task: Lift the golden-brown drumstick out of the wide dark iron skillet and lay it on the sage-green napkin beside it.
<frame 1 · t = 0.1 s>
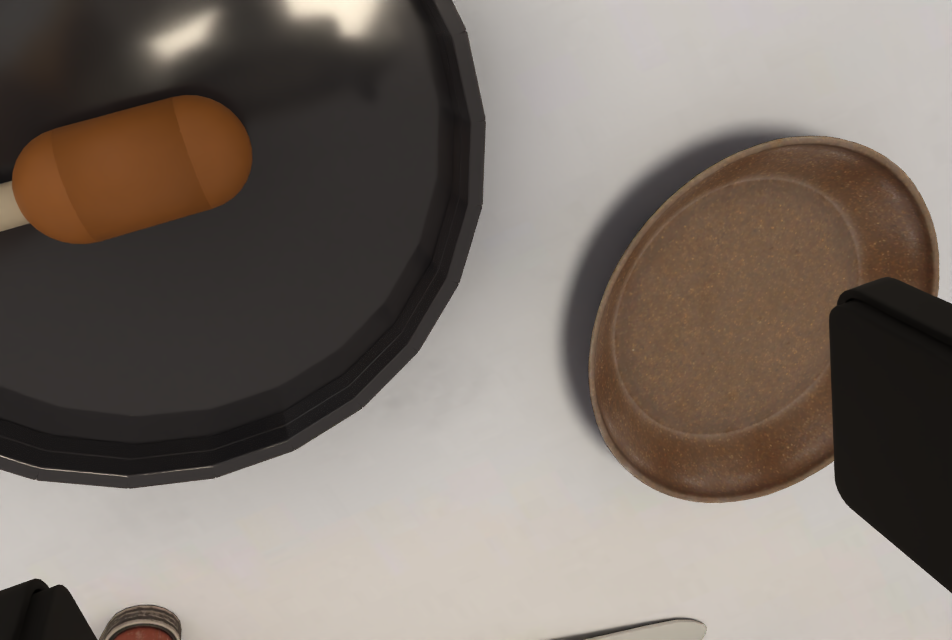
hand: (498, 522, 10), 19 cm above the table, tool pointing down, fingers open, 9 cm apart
pan: (142, 154, 25), on the table
drumstick: (89, 172, 25), resting on pan
saucer: (731, 308, 34), on the table
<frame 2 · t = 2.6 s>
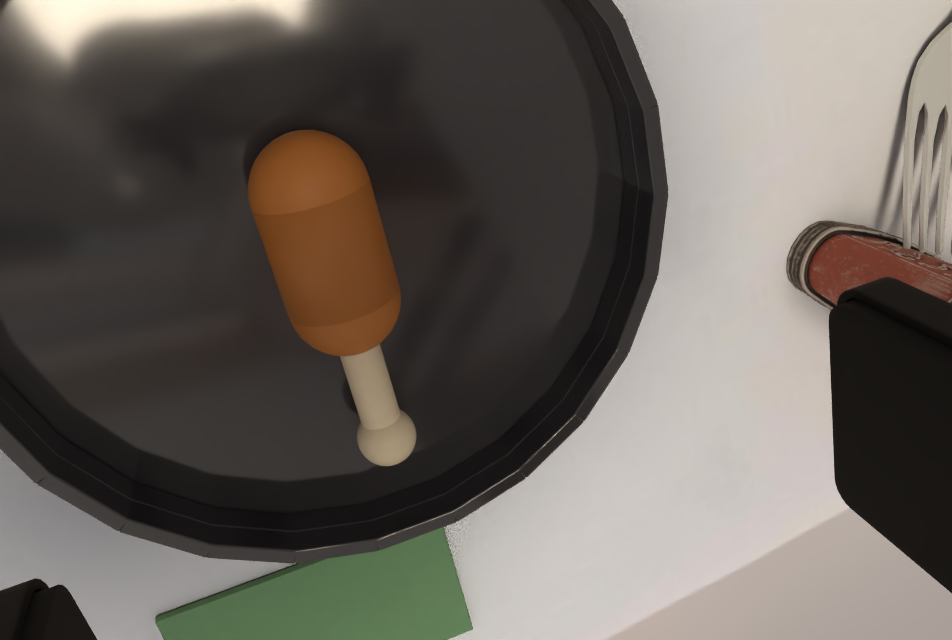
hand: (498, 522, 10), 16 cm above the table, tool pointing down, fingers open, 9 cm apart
pan: (318, 226, 25), on the table
napkin: (324, 620, 30), on the table
drumstick: (335, 277, 25), resting on pan
lighter: (868, 275, 32), on the table
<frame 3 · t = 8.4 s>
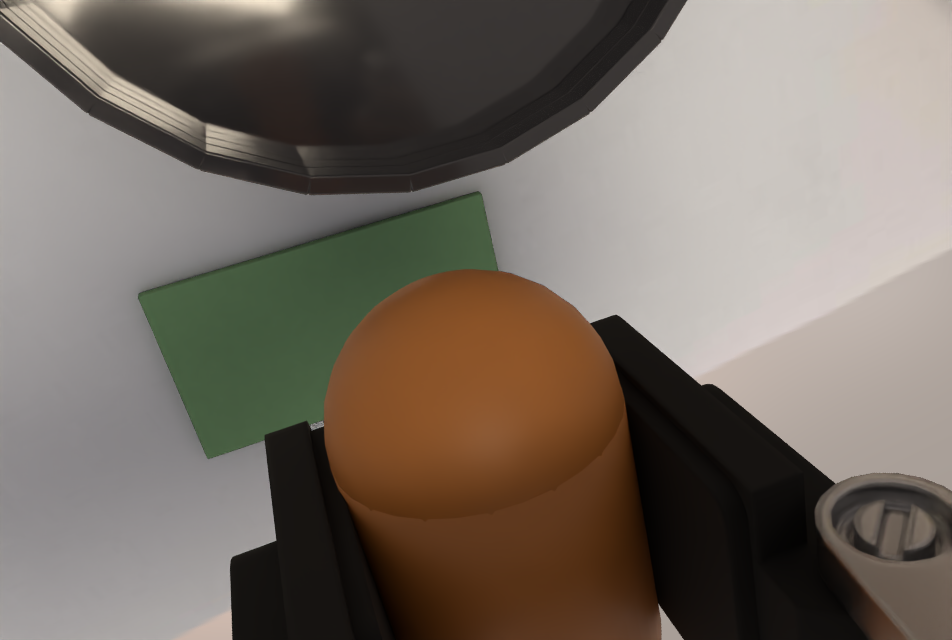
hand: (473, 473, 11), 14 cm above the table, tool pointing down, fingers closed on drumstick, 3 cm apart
napkin: (341, 324, 25), on the table
drumstick: (490, 546, 12), point 14 cm above the table, touching gripper
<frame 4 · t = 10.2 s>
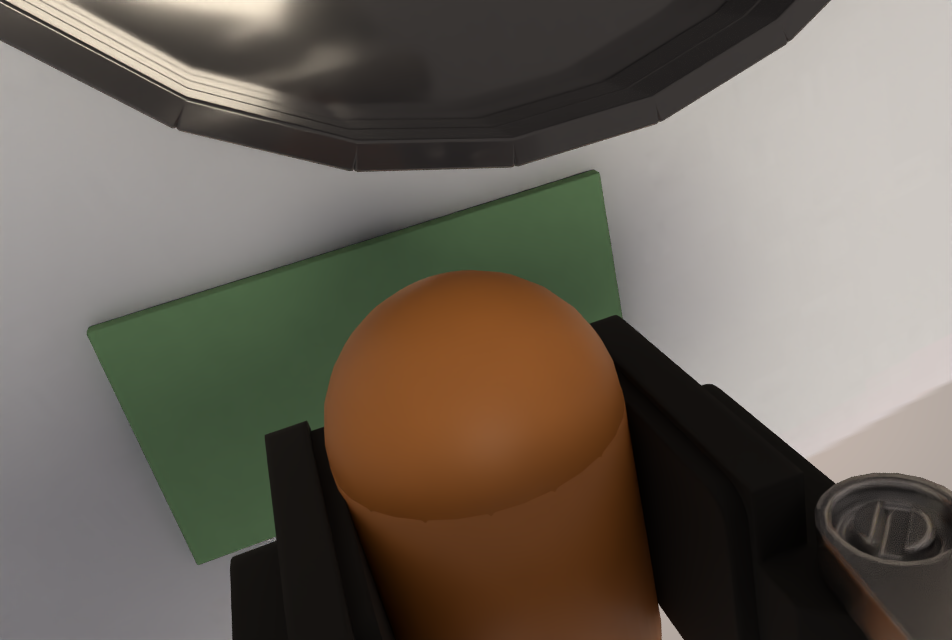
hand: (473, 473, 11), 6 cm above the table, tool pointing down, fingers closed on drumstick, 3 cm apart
napkin: (391, 366, 17), on the table
drumstick: (490, 547, 12), point 6 cm above the table, touching gripper
when the fingers open (1 cm above the table, at t = 11.6 s): drumstick stays where it is, resting on napkin, pan.
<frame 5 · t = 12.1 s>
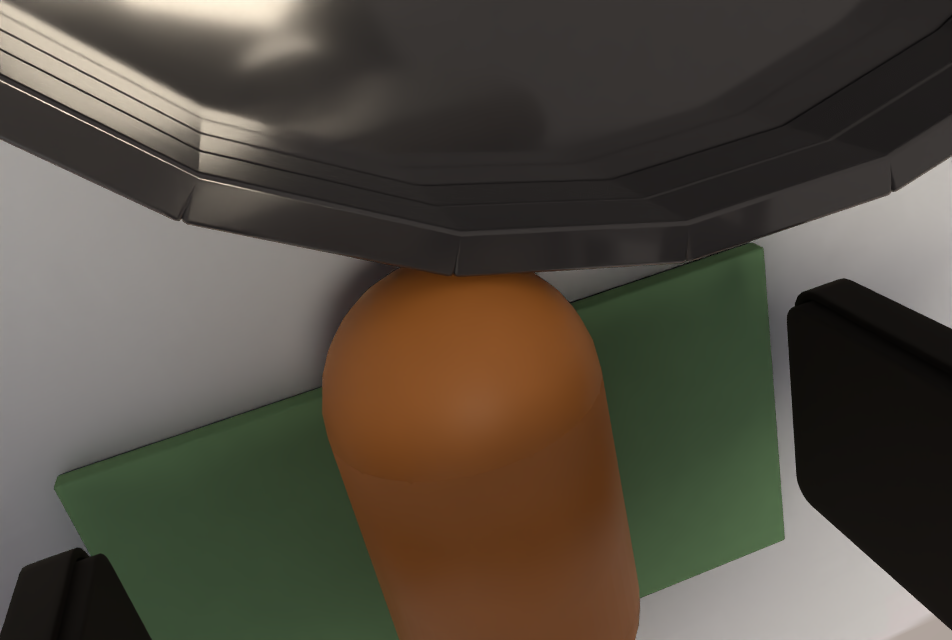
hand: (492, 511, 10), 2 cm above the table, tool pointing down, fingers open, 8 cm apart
napkin: (473, 506, 13), on the table
drumstick: (482, 519, 12), resting on napkin, pan
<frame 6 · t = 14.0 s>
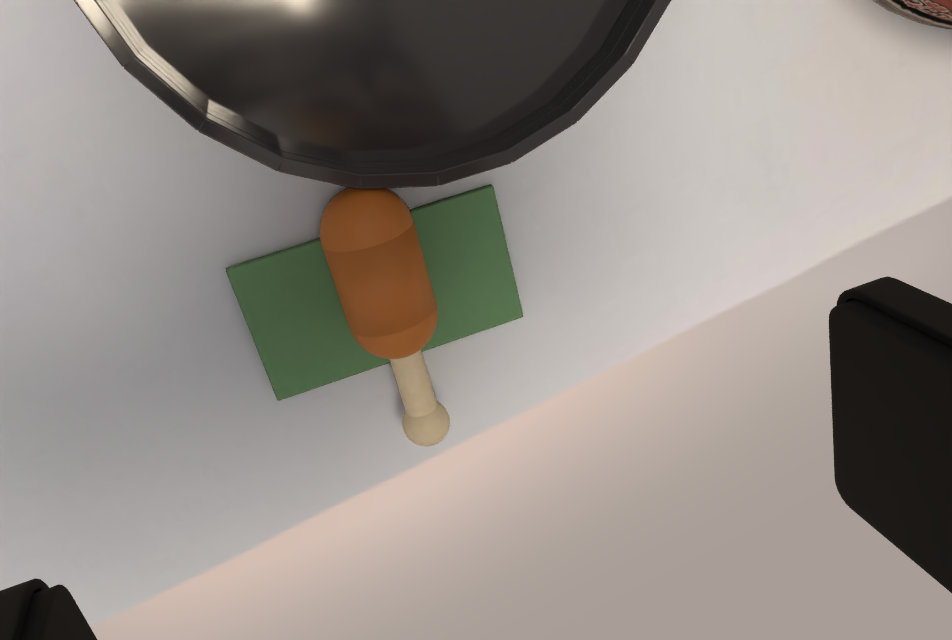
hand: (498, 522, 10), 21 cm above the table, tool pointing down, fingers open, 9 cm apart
napkin: (382, 292, 31), on the table
drumstick: (385, 295, 31), resting on napkin, pan
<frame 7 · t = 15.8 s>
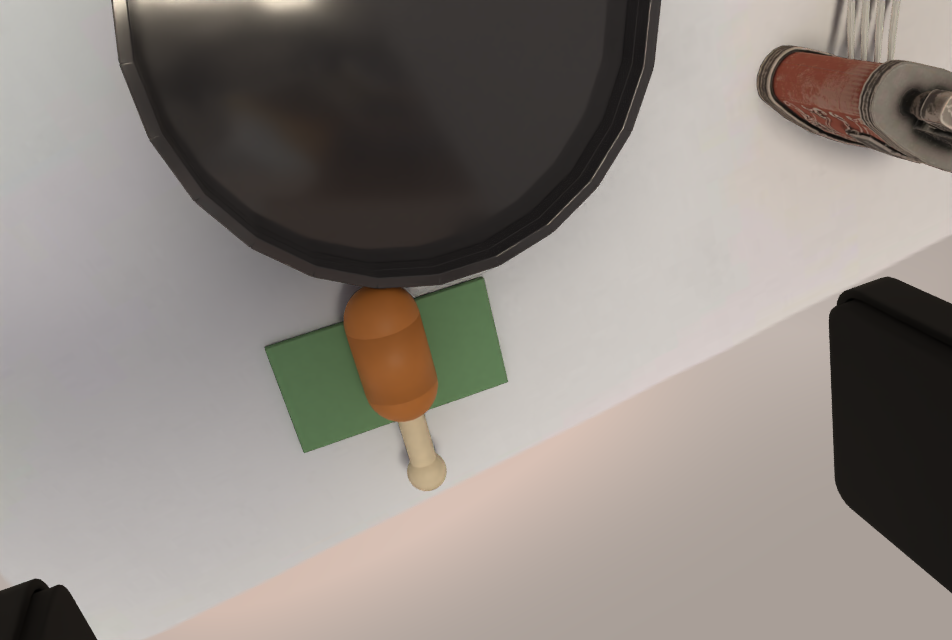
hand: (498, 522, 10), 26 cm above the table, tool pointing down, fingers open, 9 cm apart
pan: (396, 24, 33), on the table
napkin: (391, 363, 38), on the table
drumstick: (394, 367, 38), resting on napkin, pan
lighter: (823, 96, 39), on the table
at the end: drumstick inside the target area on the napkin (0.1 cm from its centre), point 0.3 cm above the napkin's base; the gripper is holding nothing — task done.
